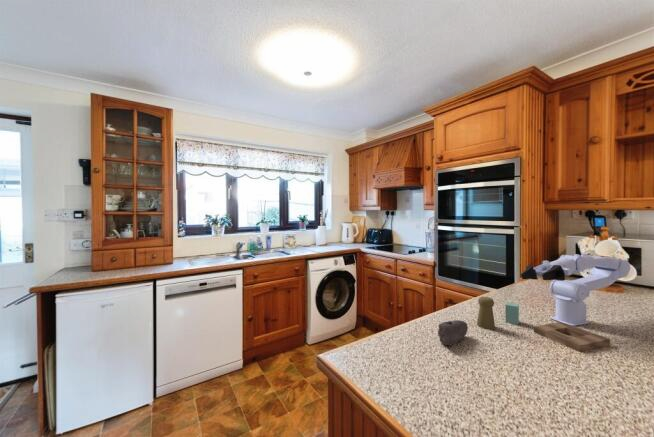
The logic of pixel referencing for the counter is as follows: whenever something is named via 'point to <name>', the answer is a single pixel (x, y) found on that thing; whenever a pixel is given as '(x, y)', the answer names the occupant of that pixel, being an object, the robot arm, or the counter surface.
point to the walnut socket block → (579, 343)
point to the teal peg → (512, 313)
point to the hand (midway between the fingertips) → (532, 277)
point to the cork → (486, 313)
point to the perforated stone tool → (452, 331)
